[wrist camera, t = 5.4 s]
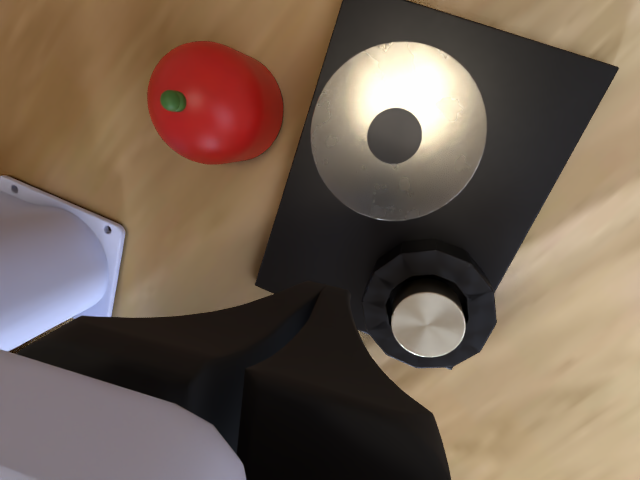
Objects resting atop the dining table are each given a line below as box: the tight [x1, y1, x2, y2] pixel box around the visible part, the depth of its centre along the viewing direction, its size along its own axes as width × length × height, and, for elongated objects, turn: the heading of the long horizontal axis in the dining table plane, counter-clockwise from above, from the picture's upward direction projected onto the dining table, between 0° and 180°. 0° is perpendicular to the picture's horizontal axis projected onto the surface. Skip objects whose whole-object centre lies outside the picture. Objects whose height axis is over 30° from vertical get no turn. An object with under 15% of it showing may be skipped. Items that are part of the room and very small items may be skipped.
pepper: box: [147, 41, 283, 164], centre depth 18 cm, size 5×5×6 cm
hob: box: [255, 0, 619, 370], centre depth 18 cm, size 12×16×3 cm
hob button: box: [391, 278, 466, 357], centre depth 18 cm, size 3×3×2 cm
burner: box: [311, 41, 487, 221], centre depth 17 cm, size 8×8×1 cm
